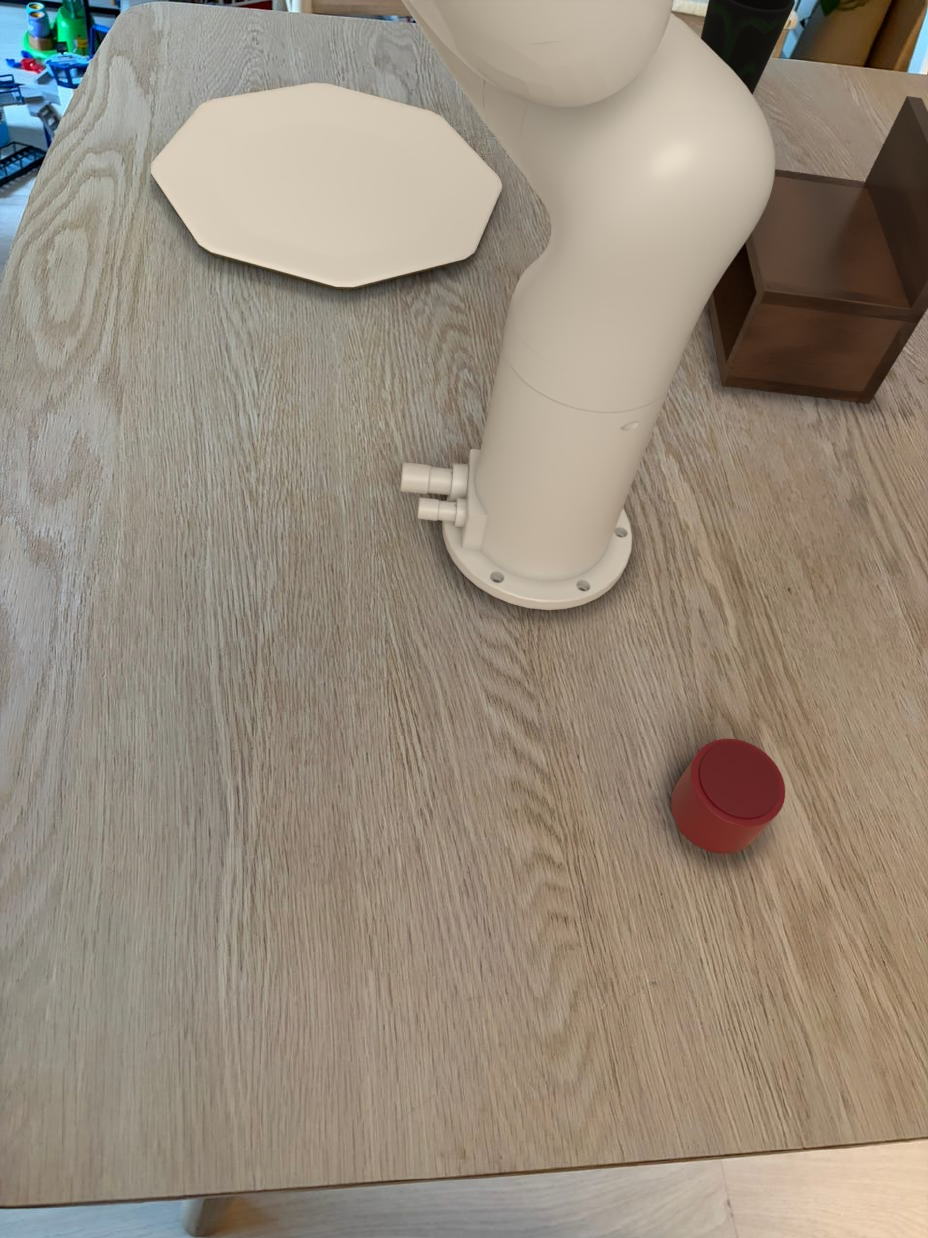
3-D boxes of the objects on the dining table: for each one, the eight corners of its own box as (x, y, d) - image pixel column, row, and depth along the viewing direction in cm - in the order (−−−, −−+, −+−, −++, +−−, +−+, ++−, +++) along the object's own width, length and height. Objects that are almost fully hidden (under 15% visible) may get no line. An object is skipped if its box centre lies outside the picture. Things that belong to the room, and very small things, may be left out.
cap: (675, 850, 56) (698, 820, 53) (666, 765, 59) (687, 732, 56) (766, 857, 57) (794, 828, 54) (752, 773, 60) (779, 740, 57)
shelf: (722, 386, 80) (804, 200, 67) (699, 259, 89) (767, 74, 76) (869, 403, 81) (979, 224, 68) (831, 277, 90) (922, 97, 77)
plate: (521, 150, 95) (524, 134, 94) (444, 331, 79) (447, 315, 78) (238, 73, 96) (237, 57, 95) (105, 237, 80) (102, 220, 79)
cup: (662, 98, 104) (699, -30, 94) (728, 96, 106) (771, -30, 96) (693, 141, 100) (735, 11, 90) (761, 137, 102) (810, 11, 92)
